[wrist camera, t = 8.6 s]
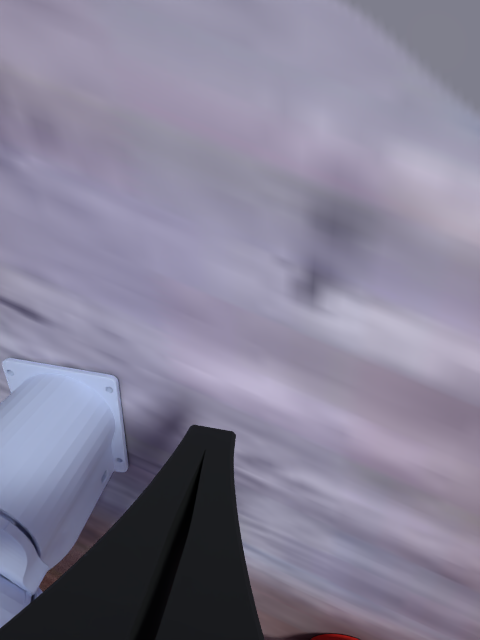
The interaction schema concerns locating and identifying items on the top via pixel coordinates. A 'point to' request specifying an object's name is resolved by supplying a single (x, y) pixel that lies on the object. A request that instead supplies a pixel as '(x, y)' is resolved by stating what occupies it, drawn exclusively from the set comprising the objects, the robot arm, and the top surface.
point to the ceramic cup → (333, 637)
